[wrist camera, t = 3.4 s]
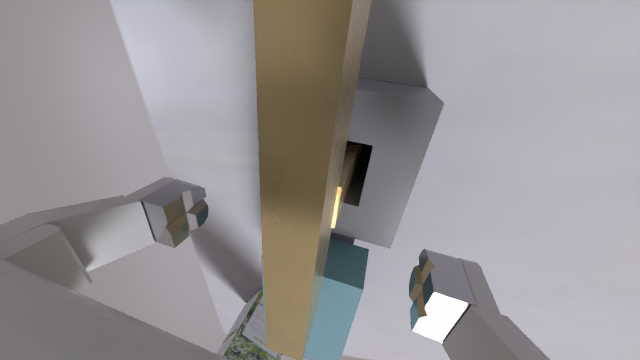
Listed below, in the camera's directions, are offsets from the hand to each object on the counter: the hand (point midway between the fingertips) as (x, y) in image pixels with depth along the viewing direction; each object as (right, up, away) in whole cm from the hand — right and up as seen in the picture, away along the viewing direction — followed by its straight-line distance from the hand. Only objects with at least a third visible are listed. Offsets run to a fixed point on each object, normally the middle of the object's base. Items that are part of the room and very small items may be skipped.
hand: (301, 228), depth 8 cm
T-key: (+3, +4, +8) cm, 9 cm away
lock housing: (+2, 0, +10) cm, 10 cm away
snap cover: (0, -6, +10) cm, 11 cm away
